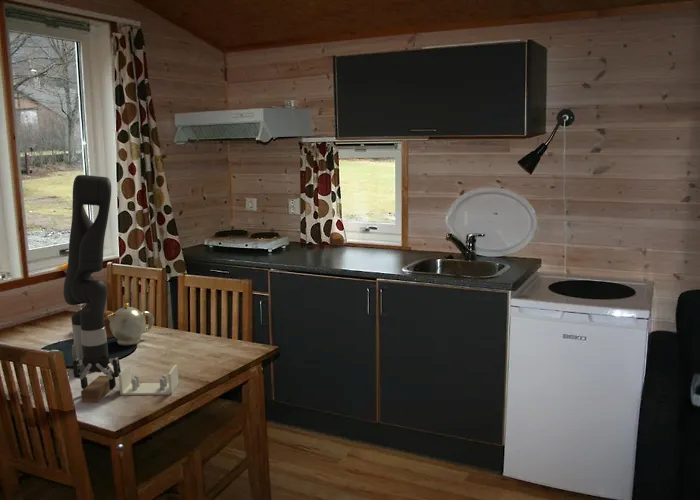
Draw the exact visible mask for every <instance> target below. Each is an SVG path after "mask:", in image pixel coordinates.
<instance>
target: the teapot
mask: <svg viewBox="0 0 700 500" xmlns="http://www.w3.org/2000/svg"><path fill="white" fill-rule="evenodd" d="M145 316H147V317H149V324H148V325H147V321H146V317H145ZM108 319H109V320H110V330H111V332H112V334H113V335H114V336H115V337H114V338H115V339H117V341H116V342H117V345H120V346H123V347H124V346H125V347H128V346H134V345H137V344H139V343H140V342H141V341H142V337H141V336H142V335H143V334H145V333H148V332H149V331H150V330H151V329H152V328H153V326H154V323H155V318H154V316H153V314H152V313H151V312H150V311H144V310H143V311H140V310H139V309H138V308H136V307H132V306H130V303H128V302H125V303H123V307H122V308H119V309H117V310H116V311H115V312H114V313H113V314H110V315H108ZM146 326H147V327H146Z"/></svg>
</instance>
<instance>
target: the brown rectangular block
mask: <svg viewBox="0 0 700 500" xmlns="http://www.w3.org/2000/svg"><path fill="white" fill-rule="evenodd" d="M111 391H112V390H110V387H109V377H108V376H107V375H98V377H96V378H95V379H93V380H92V382H90V383H88V386H87V387H86V388H85V389H82V390H81V391H80V395H81V403H85V404H86V403H88V404H89V403H90V404H94V403H95V404H99V402H100V401H101V400H102V399H103V398H105V397H106V395H107V394H109V393H110V392H111Z"/></svg>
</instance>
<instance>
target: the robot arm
mask: <svg viewBox="0 0 700 500" xmlns="http://www.w3.org/2000/svg"><path fill="white" fill-rule="evenodd" d="M111 200H112V182H111V179H110V178H109V177H107V176H100V175H99V176H98V175H86V174H79V175H76V176H75V178H74V180H73V185H72V207H71V208H72V211H71V213H72V214H71V226H70V234H69V242H68V258H67V268H66V273H65V278H64V284H63V298H64V301H65V304H66V303H67V304H68V305H69V306H78V305H83V304H85V305H84V307H82V308H81V309H79V310H78V311H77V312H74V313H73V314H72V316H71V318H70V321H71V328H72V336H73V344H72V345H71V354H72V366H73V368H72V369H73V378H75V379H79V380H80V387H81V389H82V390H83V389H85V388H86V387H87V386H88V385H89V383H88V377H87V375H88V374H89V373H92V374H93V373H103V374H104V376H108V377H109V387H110V390H111V391H113V390H114V388H116V385H117V382H116V378H119V374H120V372H121V371H122V370H121V365H120V358H119V356H116V357H113V358H110V357H109V350H108V349H109V348H108V338H107V335H106V330H105V323H104V310H106V309H105V308H106V303H107V298H108V292H109V291H108V287H107V285H106V283H105V281H102V280H101V279H100V280H99V279H96V277H95V276H93V275H92V274H94V273H98V272H100V271H102V269H103V266H104V244H105V238H106V233H107V232H106V231H107V226H108V219H109V214H110V206H111ZM84 206H97V207H99V208H98V213H97V216H96V218H95V220H94V221H93V222H92V220H91V219H90V218H89V216H88V213H87V212H86V209H85V207H84ZM109 363H110V364H111V366H112V367H111V366H110V365H109ZM112 368H113V369H112Z"/></svg>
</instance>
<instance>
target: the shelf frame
mask: <svg viewBox="0 0 700 500" xmlns="http://www.w3.org/2000/svg"><path fill="white" fill-rule="evenodd" d="M178 371H179V369H178V364H174V365H173V367H172V368H171V369H170V371H169V372H168V374H167V375H166V374H163V375H161V377H160V378H159V382H145V383H144V382H142V383H140V375H134V376H133V377H134V378H132V377H131V367H130V365H129V364H128V365H126V366H125V367H124V368H123V369H122V370H121V372H120V374H119V376H118V382H119V393H120V396H145V395H146V396H149V395H151V396H154V395H158V396H159V395H162V396H163V395H173V393H174V392H175V391H176V389H177V388H178V386H179V384H180V383H179V372H178ZM167 376H168V378H167ZM167 380H168V381H167Z"/></svg>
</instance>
